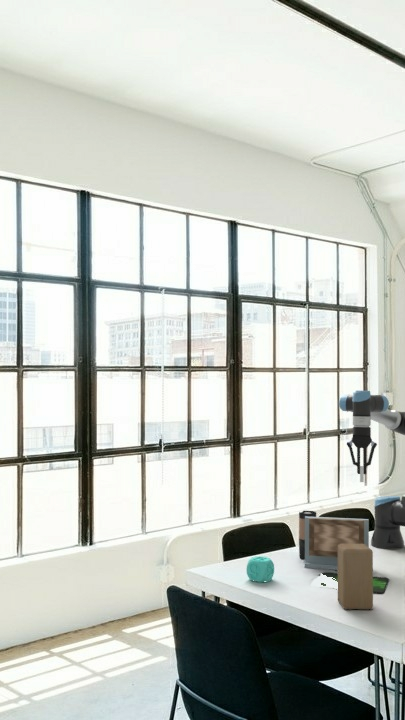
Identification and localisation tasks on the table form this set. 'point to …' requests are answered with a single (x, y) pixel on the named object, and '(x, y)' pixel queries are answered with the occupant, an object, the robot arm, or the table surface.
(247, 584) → the table surface
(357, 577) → the wooden block
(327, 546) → the walnut frame
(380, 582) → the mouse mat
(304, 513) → the travel mug
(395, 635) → the table surface
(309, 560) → the grey board
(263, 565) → the decorative dice
